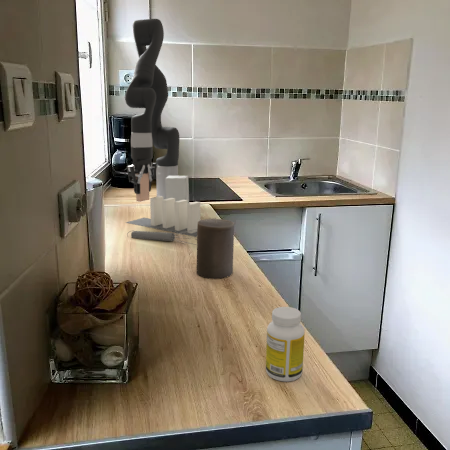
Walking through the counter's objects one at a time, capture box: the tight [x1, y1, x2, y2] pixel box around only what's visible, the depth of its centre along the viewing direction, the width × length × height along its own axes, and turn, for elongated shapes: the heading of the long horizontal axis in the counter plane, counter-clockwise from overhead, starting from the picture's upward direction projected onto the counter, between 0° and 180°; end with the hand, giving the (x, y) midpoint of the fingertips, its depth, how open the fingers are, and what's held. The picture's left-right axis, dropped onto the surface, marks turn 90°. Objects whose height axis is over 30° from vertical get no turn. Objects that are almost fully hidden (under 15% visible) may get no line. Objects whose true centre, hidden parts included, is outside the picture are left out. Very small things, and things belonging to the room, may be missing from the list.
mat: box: [125, 217, 197, 238], centre depth 173 cm, size 10×32×1 cm, turn 57°
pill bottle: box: [265, 306, 305, 382], centre depth 80 cm, size 6×6×11 cm
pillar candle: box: [196, 217, 235, 279], centre depth 127 cm, size 10×10×15 cm
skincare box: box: [165, 175, 190, 204], centre depth 190 cm, size 8×7×16 cm
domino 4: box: [175, 200, 188, 231], centre depth 169 cm, size 5×2×10 cm, turn 147°
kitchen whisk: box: [126, 229, 197, 246], centre depth 154 cm, size 6×34×6 cm, turn 69°
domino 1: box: [135, 173, 150, 202], centre depth 176 cm, size 5×2×10 cm, turn 147°
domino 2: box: [149, 195, 163, 226], centre depth 175 cm, size 5×2×10 cm, turn 147°
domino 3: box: [162, 198, 175, 228], centre depth 172 cm, size 5×2×10 cm, turn 147°
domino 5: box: [187, 201, 201, 233], centre depth 166 cm, size 5×2×10 cm, turn 147°
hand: (142, 192), depth 176 cm, fingers closed on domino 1, 5 cm apart
